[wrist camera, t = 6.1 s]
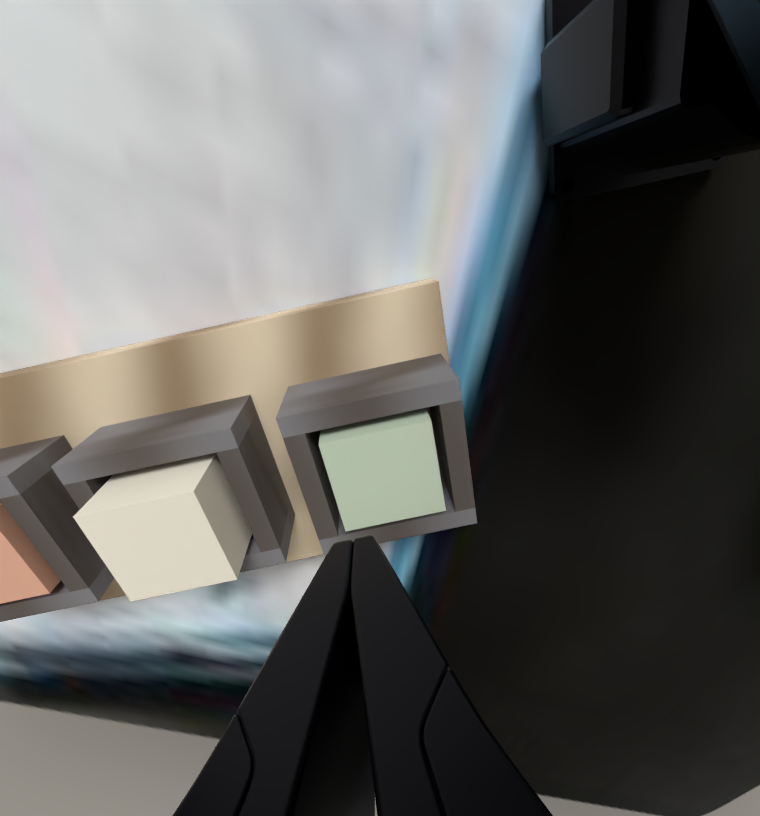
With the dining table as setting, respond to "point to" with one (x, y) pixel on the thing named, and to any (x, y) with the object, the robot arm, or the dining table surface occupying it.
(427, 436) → the button sage
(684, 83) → the robot arm
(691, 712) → the dining table surface
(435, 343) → the button panel
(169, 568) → the button cream
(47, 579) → the button terracotta
